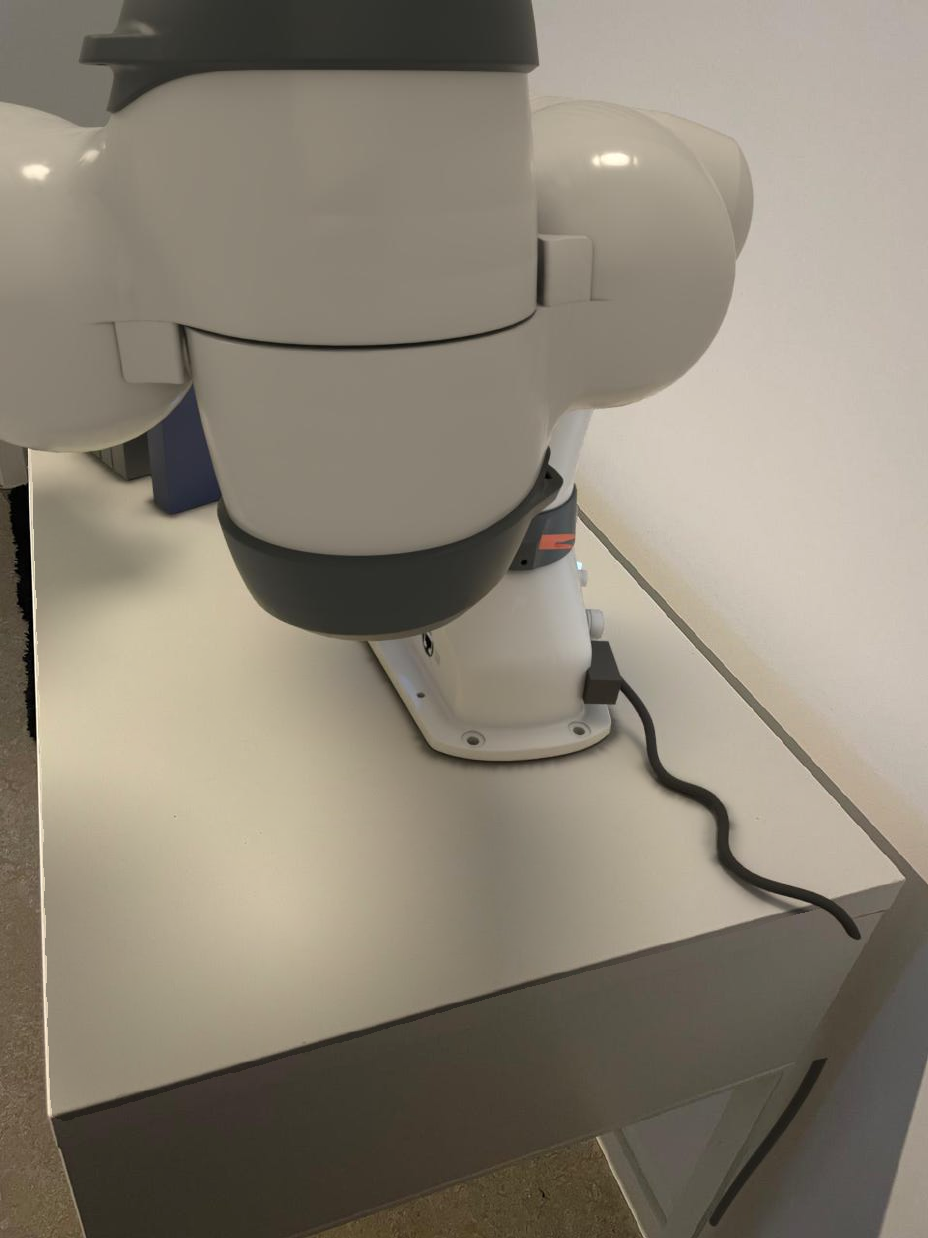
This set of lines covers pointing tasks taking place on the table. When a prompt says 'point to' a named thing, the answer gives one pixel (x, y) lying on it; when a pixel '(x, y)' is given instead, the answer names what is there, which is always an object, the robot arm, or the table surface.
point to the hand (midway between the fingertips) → (147, 355)
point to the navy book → (182, 460)
